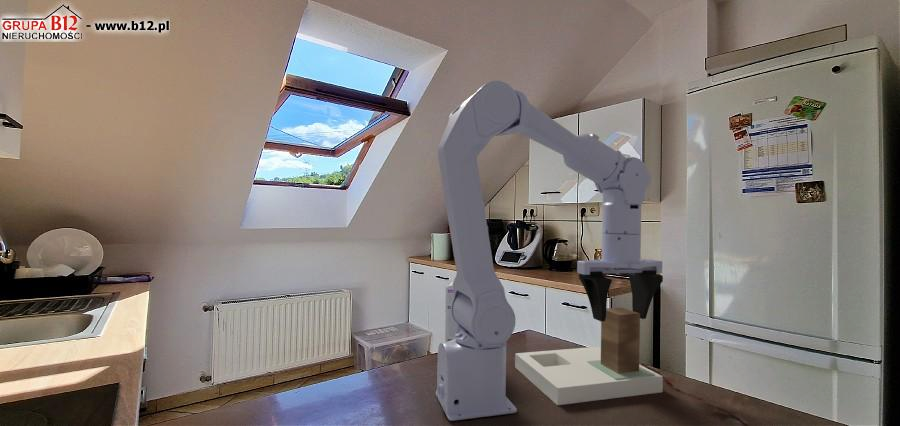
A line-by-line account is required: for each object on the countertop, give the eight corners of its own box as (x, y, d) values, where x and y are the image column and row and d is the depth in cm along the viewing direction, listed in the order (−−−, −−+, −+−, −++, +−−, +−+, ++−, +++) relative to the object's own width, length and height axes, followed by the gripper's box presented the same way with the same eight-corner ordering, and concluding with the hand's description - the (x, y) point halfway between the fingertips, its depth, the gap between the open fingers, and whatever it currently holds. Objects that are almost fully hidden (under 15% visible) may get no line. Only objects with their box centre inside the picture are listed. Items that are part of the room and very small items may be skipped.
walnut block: (617, 373, 59) (618, 314, 59) (600, 363, 63) (601, 308, 63) (639, 371, 60) (640, 313, 61) (621, 361, 64) (621, 307, 64)
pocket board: (557, 405, 54) (557, 388, 54) (514, 367, 68) (515, 353, 68) (662, 392, 59) (662, 376, 59) (603, 358, 73) (603, 346, 73)
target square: (615, 379, 57) (615, 378, 57) (587, 362, 64) (587, 361, 64) (654, 375, 59) (654, 374, 59) (623, 359, 66) (623, 357, 66)
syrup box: (478, 372, 65) (479, 286, 65) (443, 369, 66) (445, 284, 66) (482, 360, 71) (483, 281, 71) (450, 357, 72) (451, 279, 72)
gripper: (597, 234, 56) (596, 328, 56) (678, 235, 60) (677, 322, 60) (570, 232, 63) (568, 315, 63) (644, 232, 67) (643, 311, 67)
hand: (619, 318), depth 62 cm, fingers open, 7 cm apart
